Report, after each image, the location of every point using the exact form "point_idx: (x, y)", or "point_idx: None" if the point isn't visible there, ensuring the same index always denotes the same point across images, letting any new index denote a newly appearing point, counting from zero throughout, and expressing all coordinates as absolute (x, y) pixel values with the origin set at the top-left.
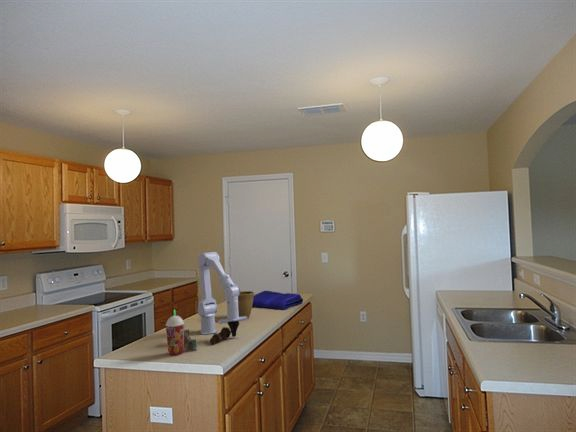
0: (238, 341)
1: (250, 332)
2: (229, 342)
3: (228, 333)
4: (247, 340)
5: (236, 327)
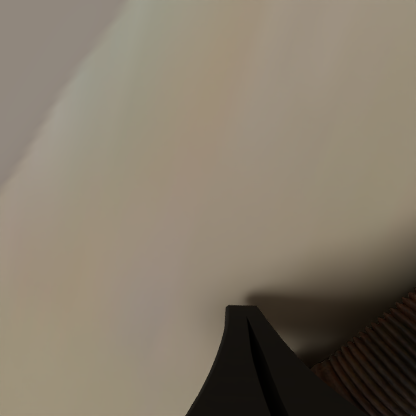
0: (236, 161)
1: (23, 407)
2: (343, 182)
3: None
4: (122, 140)
5: (226, 392)
